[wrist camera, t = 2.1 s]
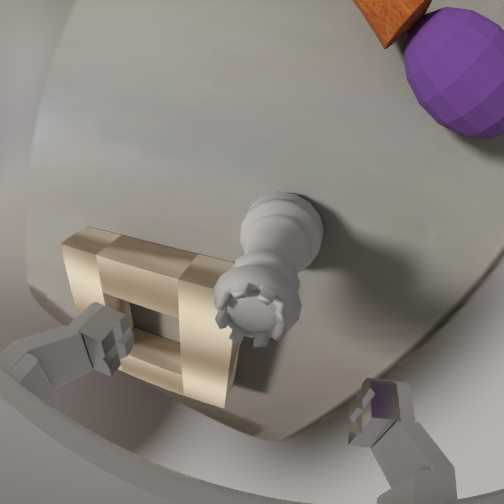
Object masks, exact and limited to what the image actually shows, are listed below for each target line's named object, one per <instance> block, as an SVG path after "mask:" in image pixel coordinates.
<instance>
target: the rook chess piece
mask: <svg viewBox="0 0 504 504" xmlns="http://www.w3.org/2000/svg"><path fill="white" fill-rule="evenodd" d="M323 232H324V230H323V226H322V222H321V218H320V215H319V214H318V212H317V211H316V210H315V209H314V207H313V206H312V205H311V203H309V202H308V201H306V200H304V199H303V198H301V197H299V196H298V195H296V194H290V193H284V192H276V193H272V194H268V195H264V196H262V197H261V198H259V199H258V200H257V201H256V202H254V203H253V204H252V205H251V206H250V208H249V210H248V212H247V213H246V215H245V217H244V220H243V222H242V224H241V237H240V242H241V245H242V247H243V250H244V255H243V256H241V257H240V258H238V259H237V260H236V262H235V264H234V266H233V267H232V269H230V270H229V271H227V272H226V273H224V274H223V275H221V276H220V277H219V279H218V281H217V283H216V285H215V287H214V303H215V308H216V309H217V310H218V313H217V315H216V317H215V320H216V322H217V324H218V326H219V329H223V328H226V327H227V325H228V326H229V327H230V328H231V329H232V332H231V335H230V337H229V338H230V339H231V340H233V341H235V342H237V343H239V344H241V343H242V340H243V338H244V336H246V337H250V338H254V341H253V344H254V347H267V345H268V341H269V338H271V337H272V338H273V339H275V340H276V341H277V342H278V341H279V340H280V339H281V338H282V336H283V335H284V334H285V332H286V331H288V330H290V329H291V327H292V326H293V325H294V324H295V323H296V322H297V320H298V319H299V315H300V311H301V306H302V305H301V302H300V298H299V295H298V288H299V283H300V282H299V278H298V275H297V274H298V272H300V271H302V270H303V269H305V268H307V267H308V266H309V265H310V264H311V263H312V261H313V260H314V259H315V257H316V256H317V254H318V253H319V251H320V246H321V242H322V237H323Z"/></svg>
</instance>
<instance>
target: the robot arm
mask: <svg viewBox="0 0 504 504" xmlns="http://www.w3.org/2000/svg"><path fill="white" fill-rule="evenodd" d="M131 324H132V322H131V317H130V316H128V315H126V314H124V313H122V312H119V311H117V310H114V309H112V308H110V307H107V306H105V305H102V304H100V303H98V302H94V303H91V304H90V305H89V306H88V307H87V308H86V309H85V310H84V311H83V312H82V313H81V314H80V315H79V316H78V317H77V318H76V319H75V320H74V321H73V322H72V323H71V324H69V325H68V326H65V325H63V326H61V327H57V328H54V329H51V330H47V331H44V332H41V333H38V334H34V335H31V336H28V337H25V338H22V339H18V340H15V341H13V342H12V343H11V344H10V345H9V346H8V347H7V348H6V349H5V350H4V351H3V352H2V353H1V354H0V504H310V503H302V502H293V501H287V500H282V499H276V498H270V497H265V496H260V495H256V494H251V493H247V492H243V491H238V490H234V489H231V488H227V487H223V486H220V485H216V484H213V483H210V482H206V481H203V480H200V479H197V478H194V477H191V476H188V475H185V474H183V473H180V472H177V471H174V470H172V469H169V468H167V467H164V466H161V465H159V464H157V463H154V462H152V461H149V460H147V459H145V458H143V457H140V456H138V455H136V454H134V453H132V452H130V451H128V450H125V449H123V448H121V447H119V446H117V445H115V444H113V443H111V442H110V441H108V440H106V439H104V438H102V437H100V436H98V435H97V434H95V433H93V432H91V431H89V430H88V429H86V428H84V427H83V426H81V425H79V424H78V423H76V422H74V421H73V420H71V419H69V418H68V417H66V416H65V415H63V414H62V413H60V412H59V411H57V410H56V409H55V407H56V406H57V404H58V403H59V398H58V396H57V395H56V393H55V391H54V389H55V388H57V387H59V386H61V385H64V384H65V383H68V382H70V381H71V380H74V379H76V378H78V377H80V376H81V375H84V374H86V373H87V372H90V371H92V370H93V369H95V370H97V371H99V372H101V373H104V374H106V375H108V376H110V377H112V376H113V374H114V373H115V372H116V371H117V369H118V368H119V367H120V365H121V361H120V359H122V358H125V357H127V356H128V355H129V353H130V352H131V350H132V347H133V344H134V334H133V332H132V330H131V329H130V328H129V327H130V326H131ZM349 418H350V419H351V421H352V422H353V424H352V425H351V427H350V428H349V442H348V444H349V445H353V446H362V447H370V448H371V450H372V452H373V454H374V456H375V458H376V460H377V462H378V464H379V465H380V467H381V469H382V471H383V473H384V475H385V477H386V479H387V481H388V483H389V485H390V486H391V489H390V490H388V491H387V492H385V493H383V494H382V495H380V496H379V497H378V498H377V504H504V489H501V490H498V491H494V492H490V493H486V494H482V495H478V496H473V497H469V498H463V499H458V500H457V492H456V479H455V470H454V466H453V465H452V464H451V462H450V461H449V460H448V459H447V457H446V456H445V455H444V453H443V452H442V451H441V450H440V449H439V447H438V446H437V445H436V443H435V442H434V441H433V439H432V438H431V437H430V436H429V434H428V433H427V432H426V431H425V429H424V428H423V427H422V426H421V424H420V423H419V422H415V417H414V410H413V403H412V397H411V391H410V385H409V384H408V383H403V382H394V381H388V380H380V379H373V378H366V379H365V380H364V382H363V383H362V390H361V391H359V392H357V393H356V395H355V396H354V398H353V400H352V403H351V407H350V416H349Z"/></svg>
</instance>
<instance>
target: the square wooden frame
mask: <svg viewBox="0 0 504 504" xmlns="http://www.w3.org/2000/svg"><path fill="white" fill-rule="evenodd" d="M61 247H62V252H63V257H64V261H65V266H66V270H67V275H68V279H69V283H70V287H71V291H72V294H73V298H74V302H75V305H76V309H77V312H78V315H80V314H81V313H82V312H83V311H84V310H85V309H86V308H87V307H88V306H89V305H90V304H91V303H94V302H98V303H100V304H102V305H105V306H107V307H110V308H112V309H114V310H117V311H119V312H122V313H124V314H126V315H128V316H130V317H131V322H132V324H131V326H130V327H129V328H130V329H131V330H132V332H133V334H134V344H133V347H132V350H131V352H130V353H129V355H128V356H127V357H125V358H122V359H120V361H121V365H120V367H119V368H118V369H119V370H121V371H123V372H126V373H128V374H130V375H132V376H135V377H137V378H139V379H142V380H144V381H147V382H149V383H152V384H154V385H157V386H159V387H162V388H165V389H167V390H170V391H173V392H175V393H178V394H181V395H184V396H187V397H190V398H193V399H196V400H199V401H202V402H205V403H208V404H211V405H215V406H218V407H221V408H225V405H226V403H227V400H228V397H229V395H230V392H231V389H232V387H233V384H234V381H235V374H236V367H237V360H238V354H239V347H240V344H239V343H237V342H235V341H233V340H231V339H230V338H229V337H230V335H231V332H232V329H231V328H230V327H229V326H228V325H227V327H226V328H223V329H219V326H218V324H217V322H216V320H215V317H216V315H217V313H218V310H217V309H216V308H215V303H214V287H215V285H216V283H217V281H218V279H219V277H220V276H221V275H223V274H224V273H226V272H227V271H229V270H230V269H232V267H233V266H234V264H235V263H233V262H229V261H224V260H220V259H216V258H212V257H208V256H204V255H200V254H196V253H191V252H187V251H183V250H179V249H175V248H171V247H167V246H163V245H159V244H155V243H151V242H147V241H143V240H139V239H135V238H131V237H127V236H123V235H119V234H115V233H111V232H107V231H104V230H100V229H96V228H92V227H88V226H86V227H85V228H83V229H82V230H80V231H79V232H77V233H76V234H74V235H73V236H71V237H70V238H68V239H67V240H65V241H64V242H62V243H61ZM130 302H131V303H134V304H137V305H139V306H142V307H145V308H148V309H151V310H154V311H157V312H160V313H163V314H166V315H169V316H173V317H176V318H179V329H180V343H177V342H174V341H171V340H168V339H165V338H163V337H160V336H157V335H154V334H151V333H149V332H146V331H143V330H140V329H138V328H135V327H134V326H133V320H132V314H131V308H130Z"/></svg>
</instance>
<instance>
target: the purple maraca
mask: <svg viewBox="0 0 504 504" xmlns="http://www.w3.org/2000/svg"><path fill="white" fill-rule="evenodd" d="M353 1H354V2H355V4H356V5H357V7H358V8H359V9H360V11H361V12H362V14H363V15H364V17H365V18H366V20H367V21H368V23H369V25H370V26H371V28H372V29H373V31H374V32H375V34H376V36H377V37H378V39H379V41H380V42H381V44H382V46H383V47H384V49H387V48H388V47H389V46H390V45H392V44H393V43H394V42H396V41H397V40H398V39H400V38H401V37H403V36H404V35H405V34H407V33H408V32H409V35H408V39H407V42H406V46H405V50H404V61H405V68H406V75H407V80H408V82H409V84H410V86H411V88H412V90H413V92H414V94H415V96H416V98H417V100H418V102H419V104H420V105H421V106H422V107H423V108H424V109H425V110H426V111H427V112H428V113H429V114H430V115H431V116H432V117H433V118H434V119H435V120H436V122H437V123H439V124H441V125H443V126H445V127H446V128H448V129H450V130H452V131H454V132H456V133H458V134H459V135H463V136H469V137H478V138H486V139H489V138H493V137H497V136H499V135H500V134H502V133H504V31H503V29H502V28H501V27H500V26H499V25H498V24H496V23H495V22H493V21H491V20H490V19H488V18H486V17H484V16H482V15H481V14H479V13H477V12H475V11H473V10H467V9H459V8H450V7H445V8H442V9H439V10H436V11H434V12H431V13H428V14H425V13H426V11H427V9H428V7H429V5H430V4H431V2H432V0H353ZM424 14H425V15H424Z"/></svg>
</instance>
